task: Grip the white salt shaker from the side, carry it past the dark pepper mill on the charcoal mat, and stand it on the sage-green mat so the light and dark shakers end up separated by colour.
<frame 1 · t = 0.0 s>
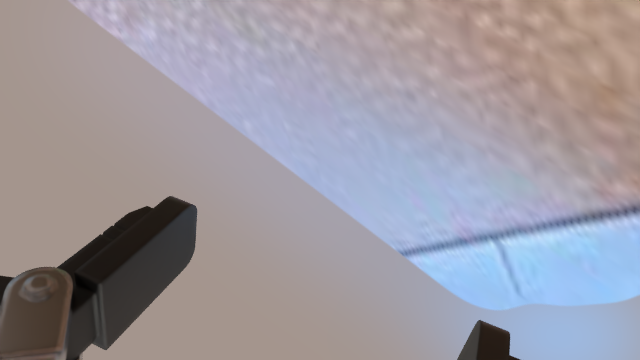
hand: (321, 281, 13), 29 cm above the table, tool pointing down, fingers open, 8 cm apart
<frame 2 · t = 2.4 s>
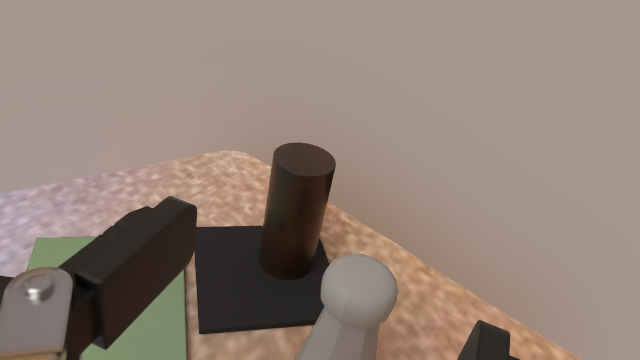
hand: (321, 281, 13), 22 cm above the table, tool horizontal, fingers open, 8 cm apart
sage mat: (104, 300, 38), on the table
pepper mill: (285, 260, 45), point 1 cm above the table, touching dark mat
dark mat: (265, 273, 44), on the table
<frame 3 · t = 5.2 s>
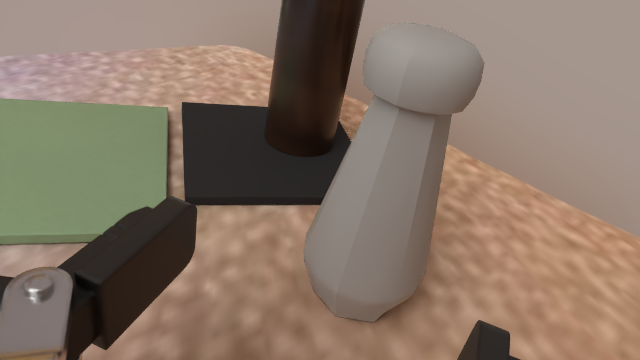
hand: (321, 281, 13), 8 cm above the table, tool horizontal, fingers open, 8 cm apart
sage mat: (59, 164, 29), on the table
salt shaker: (353, 292, 25), on the table
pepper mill: (298, 138, 35), point 1 cm above the table, touching dark mat
dark mat: (272, 152, 34), on the table
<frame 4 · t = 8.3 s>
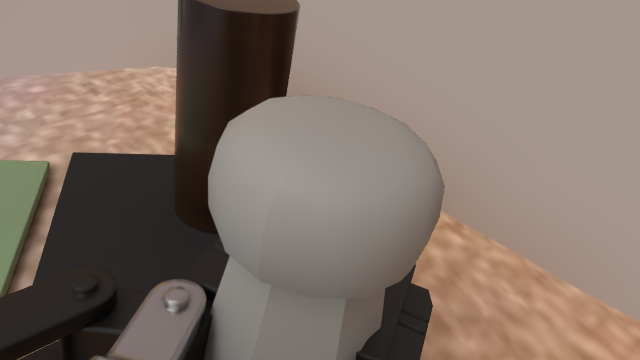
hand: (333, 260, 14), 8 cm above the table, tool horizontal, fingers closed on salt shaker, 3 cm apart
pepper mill: (222, 204, 26), point 1 cm above the table, touching dark mat
dark mat: (183, 225, 25), on the table
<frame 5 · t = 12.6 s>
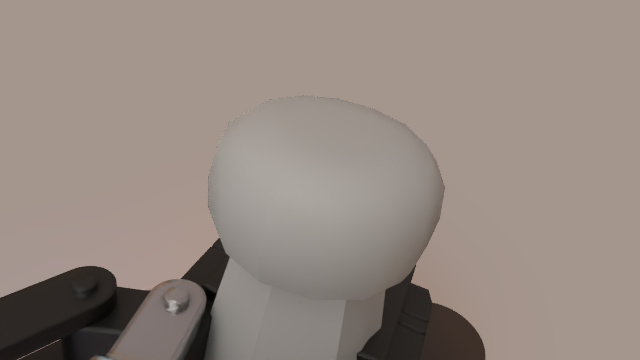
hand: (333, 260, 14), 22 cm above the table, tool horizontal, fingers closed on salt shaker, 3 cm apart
when the fingers open (8 cm above the table, at t = 17.4 s): salt shaker stays where it is, resting on sage mat.
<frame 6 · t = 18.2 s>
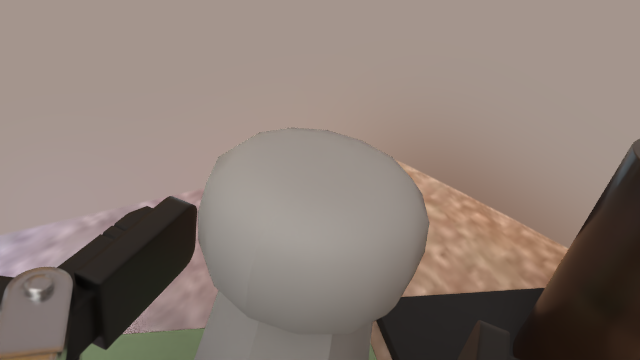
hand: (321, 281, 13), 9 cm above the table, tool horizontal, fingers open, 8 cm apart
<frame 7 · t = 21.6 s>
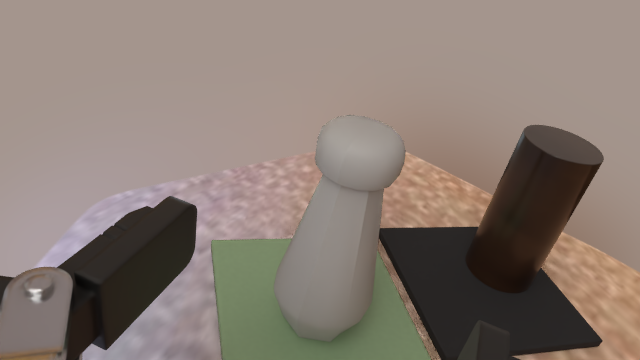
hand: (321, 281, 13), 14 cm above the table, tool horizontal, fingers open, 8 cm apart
sage mat: (316, 319, 30), on the table
salt shaker: (315, 316, 30), resting on sage mat
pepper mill: (497, 268, 37), point 1 cm above the table, touching dark mat
dark mat: (478, 285, 36), on the table
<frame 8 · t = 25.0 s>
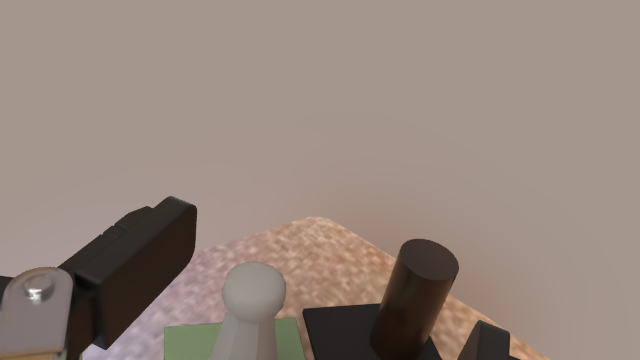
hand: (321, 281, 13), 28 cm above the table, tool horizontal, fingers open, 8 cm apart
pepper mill: (395, 343, 47), point 1 cm above the table, touching dark mat
dark mat: (377, 358, 46), on the table
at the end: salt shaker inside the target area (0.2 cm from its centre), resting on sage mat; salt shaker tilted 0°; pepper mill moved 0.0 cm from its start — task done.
